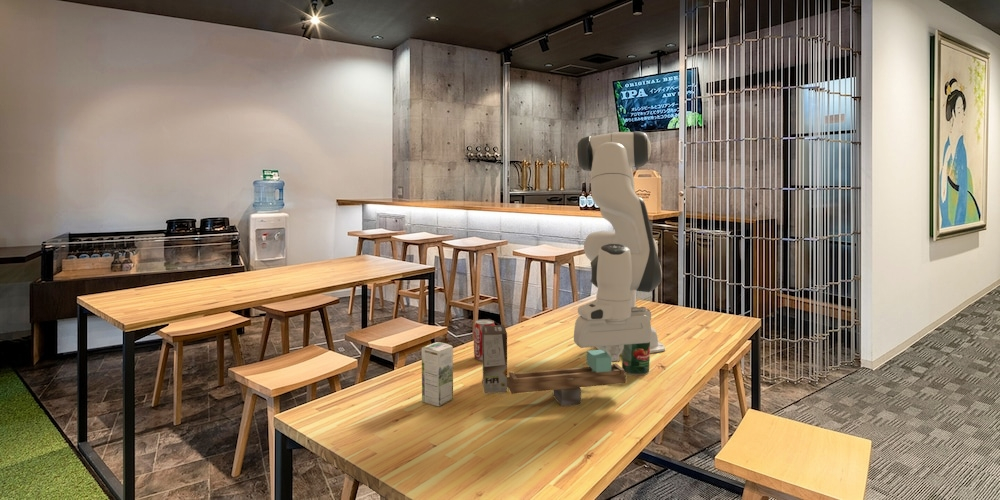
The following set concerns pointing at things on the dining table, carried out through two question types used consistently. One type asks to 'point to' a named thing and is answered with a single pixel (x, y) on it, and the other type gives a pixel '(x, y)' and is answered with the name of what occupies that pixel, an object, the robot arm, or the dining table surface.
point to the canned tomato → (636, 358)
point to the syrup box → (437, 373)
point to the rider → (599, 361)
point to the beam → (564, 382)
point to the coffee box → (494, 358)
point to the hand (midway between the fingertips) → (612, 361)
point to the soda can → (480, 336)
